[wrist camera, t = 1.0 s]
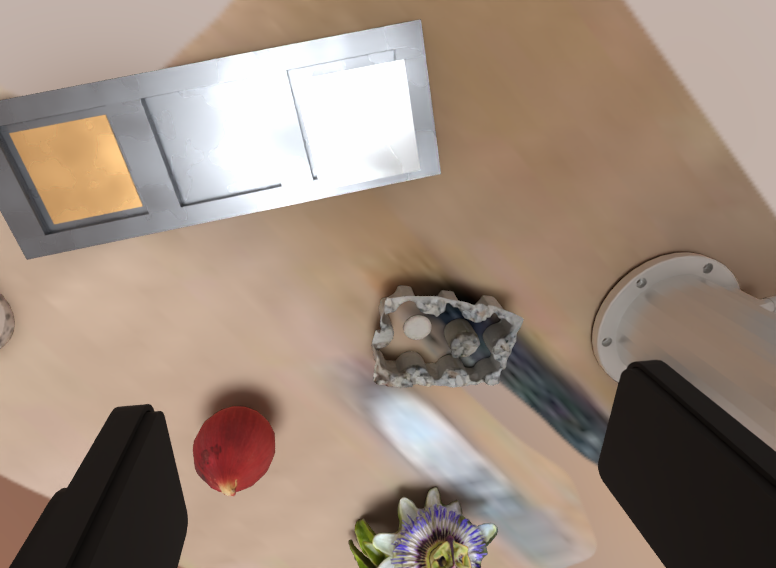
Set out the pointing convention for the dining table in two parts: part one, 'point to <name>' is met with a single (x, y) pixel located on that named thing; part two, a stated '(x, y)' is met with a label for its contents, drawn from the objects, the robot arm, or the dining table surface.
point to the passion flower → (425, 538)
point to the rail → (186, 142)
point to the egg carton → (459, 337)
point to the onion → (234, 449)
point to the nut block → (359, 124)
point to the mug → (5, 321)
